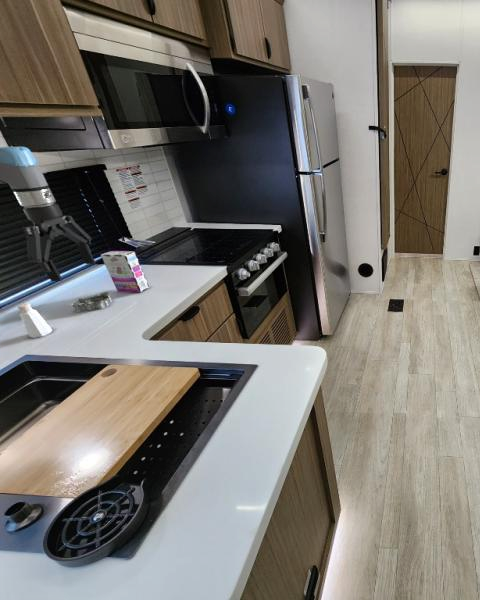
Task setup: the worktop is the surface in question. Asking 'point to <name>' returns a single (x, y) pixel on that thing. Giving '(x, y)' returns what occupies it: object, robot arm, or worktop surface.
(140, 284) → the candy bar box
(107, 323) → the worktop surface
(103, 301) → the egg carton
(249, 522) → the worktop surface
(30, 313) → the pepper shaker
